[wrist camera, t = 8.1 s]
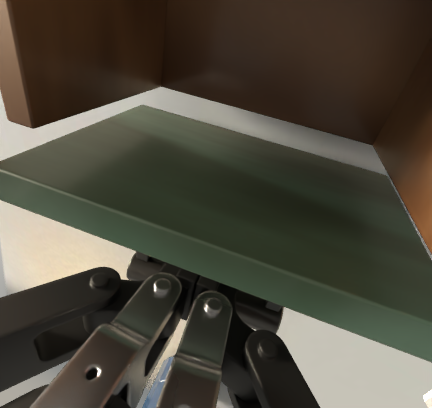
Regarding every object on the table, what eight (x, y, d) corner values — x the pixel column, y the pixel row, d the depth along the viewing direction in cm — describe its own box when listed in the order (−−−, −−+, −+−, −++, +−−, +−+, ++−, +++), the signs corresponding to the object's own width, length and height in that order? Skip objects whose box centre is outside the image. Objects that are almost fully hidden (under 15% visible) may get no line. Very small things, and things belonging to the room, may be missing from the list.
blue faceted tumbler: (163, 371, 31) (138, 427, 27) (168, 343, 28) (140, 402, 23) (213, 392, 30) (195, 454, 26) (224, 366, 27) (206, 432, 22)
